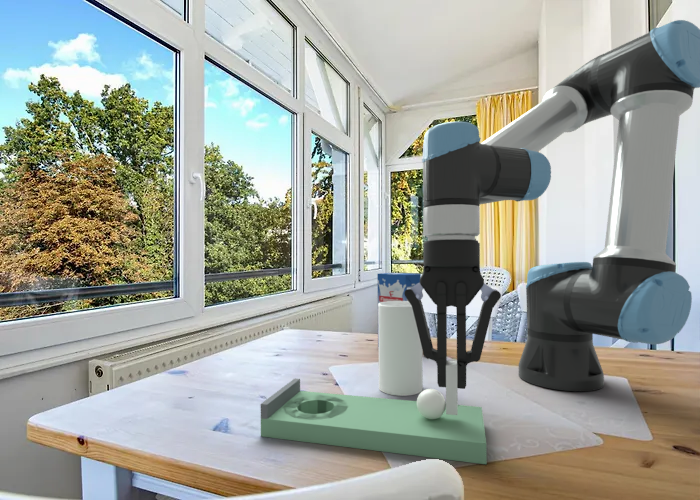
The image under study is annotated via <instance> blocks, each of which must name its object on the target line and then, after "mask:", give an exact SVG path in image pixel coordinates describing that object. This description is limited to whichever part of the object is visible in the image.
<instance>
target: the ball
mask: <svg viewBox="0 0 700 500" xmlns="http://www.w3.org/2000/svg"><path fill="white" fill-rule="evenodd" d="M416 401H417V408H418V411H419V412H420V414H421V415H422V416H424V417H425V418H427V419H437V418H439V417H441V416H442V415H443V413H444V412H445V409H446V397H445V396H444V395H443V393H442V392H440V391H439V390H437V389H435V388H426V389H424V390H422V391H421V392H420V393H418V396H417V398H416Z"/></svg>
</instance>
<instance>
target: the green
mask: <svg viewBox="0 0 700 500" xmlns="http://www.w3.org/2000/svg"><path fill="white" fill-rule="evenodd" d="M484 421H485V420H484V414H483V408H482V406H476V405H475V406H473V405H465V404H464V405H463V404H458V415H450V414H446V409H445V412H444V413H443V415H442V416H441V417H439V418H437V419H427V418H425V417H424V416H422V415H421V414H420V412H419V411H418V408H417V400H406V399H396V398H395V399H394V398H383V397H376V396H375V397H373V396H372V397H371V396H361V395H350V394H341V393H329V392H328V393H327V392H318V391H306V390H305V391H303V390H301V379H300V378H293V379H292V380H290V381H289V382H288V383H286V384H285V385H284V386H283V387H281V388H280V389H278V390H277V391H276V392H274V393H273V394H272V395H271V396H269V397H268V398H267V399H265V400H264V401H262V402H261V403H260V437H264V438H270V439H271V438H272V439H281V440H286V441H294V442H295V441H296V442H304V443H311V444H312V443H313V444H321V445H328V446H336V447H342V448H343V447H344V448H352V449H358V450H359V449H361V450H367V451H375V452H384V453H393V454H401V455H407V456H416V457H425V458H432V459H441V460H449V461H455V462H456V461H457V462H466V463H473V464H480V465H487V463H488V461H487V438H486V430H485V422H484Z"/></svg>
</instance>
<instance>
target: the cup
mask: <svg viewBox="0 0 700 500" xmlns="http://www.w3.org/2000/svg"><path fill="white" fill-rule="evenodd" d="M378 341H379V347H378V389H379V391H380V392H383V393H384V394H387V395H392V396H399V397H400V396H401V397H402V396H403V397H404V396H414V395H417V394H418V395H419V394H420V393H421V392H422V391H423V388H424V387H423V386H424V385H423V384H424V382H423V380H424V378H423V375H424V374H423V372H424V371H423V350H422V346H421V341H420V337H419V333H418V329H417V325H416V321H415V317H414V313H413V309H412V306H411V304H410V303H409V301H387V302H380V303H378V302H377V342H378Z"/></svg>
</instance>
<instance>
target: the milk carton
mask: <svg viewBox="0 0 700 500" xmlns="http://www.w3.org/2000/svg"><path fill="white" fill-rule="evenodd" d="M376 275H377V277H376V278H377V304H378V303H380V302H387V301H408V300H407V298H406V296H405V294H404V292H405V291H406V290H407V289H408V288H412V287H413V286H415V285H416V284H418V283H420V277H421V276H422V274H421V273H407V272H382V273H377V274H376ZM377 347H378V348H379V341H378V340H377Z"/></svg>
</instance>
